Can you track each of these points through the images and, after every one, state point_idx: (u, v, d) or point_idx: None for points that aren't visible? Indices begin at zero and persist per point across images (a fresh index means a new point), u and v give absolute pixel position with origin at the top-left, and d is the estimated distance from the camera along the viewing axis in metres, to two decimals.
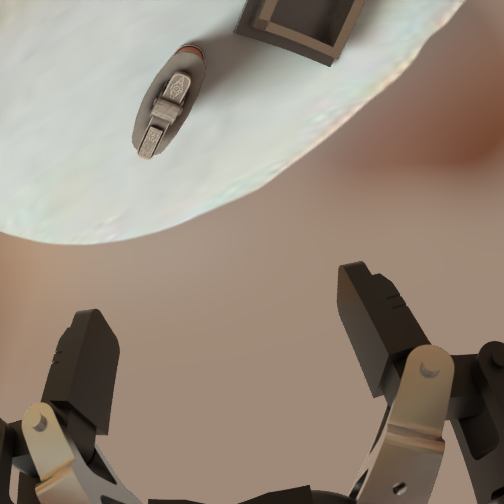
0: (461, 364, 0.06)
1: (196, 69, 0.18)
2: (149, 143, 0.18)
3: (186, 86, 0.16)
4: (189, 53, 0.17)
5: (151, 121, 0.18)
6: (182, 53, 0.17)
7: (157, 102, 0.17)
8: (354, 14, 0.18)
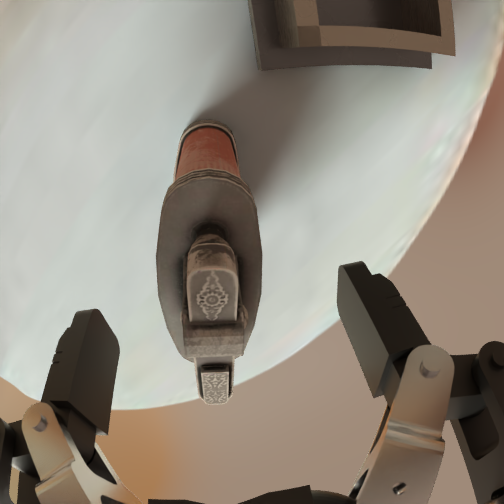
0: (461, 364, 0.06)
1: (232, 208, 0.09)
2: (214, 390, 0.09)
3: (232, 287, 0.07)
4: (197, 180, 0.08)
5: (197, 361, 0.09)
6: (181, 188, 0.08)
7: (187, 342, 0.08)
8: None
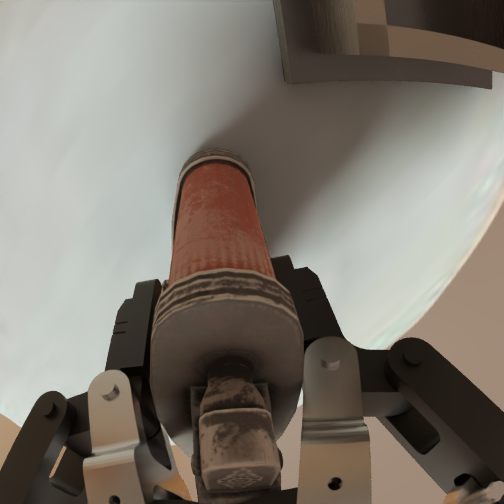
0: (374, 359, 0.07)
1: (266, 335, 0.05)
2: None
3: (271, 473, 0.04)
4: (207, 301, 0.05)
5: None
6: (181, 312, 0.05)
7: None
8: None
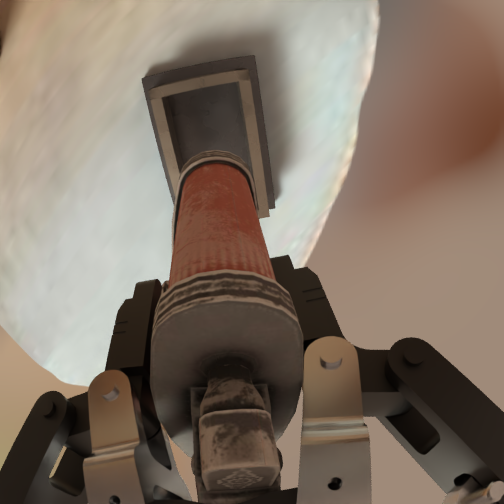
0: (374, 359, 0.07)
1: (266, 337, 0.05)
2: None
3: (270, 473, 0.04)
4: (207, 303, 0.05)
5: None
6: (181, 314, 0.05)
7: None
8: (258, 168, 0.24)
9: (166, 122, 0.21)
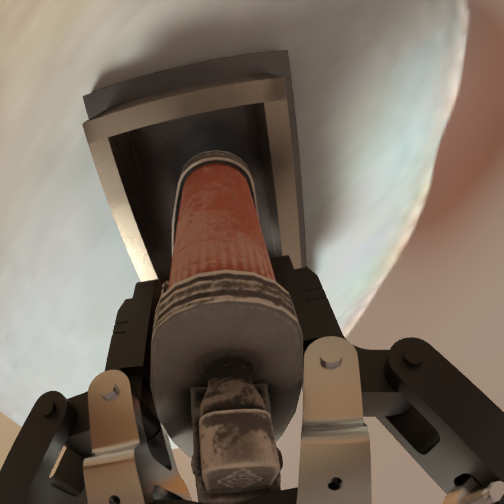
0: (374, 359, 0.07)
1: (265, 337, 0.05)
2: None
3: (270, 473, 0.04)
4: (207, 303, 0.05)
5: None
6: (181, 314, 0.05)
7: None
8: (293, 262, 0.14)
9: (122, 186, 0.11)
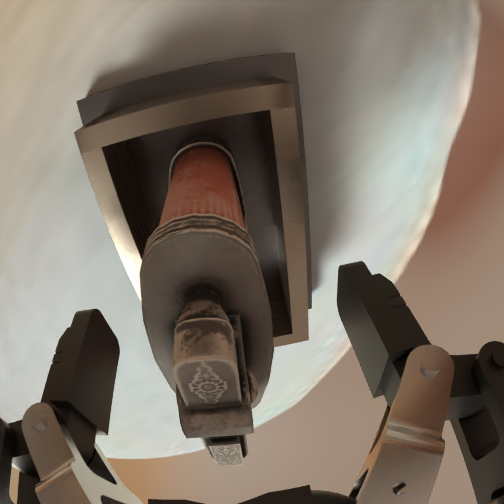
0: (461, 364, 0.06)
1: (227, 264, 0.07)
2: (226, 456, 0.08)
3: (230, 375, 0.05)
4: (177, 235, 0.06)
5: None
6: (159, 246, 0.06)
7: (185, 428, 0.06)
8: (299, 278, 0.13)
9: (117, 199, 0.10)
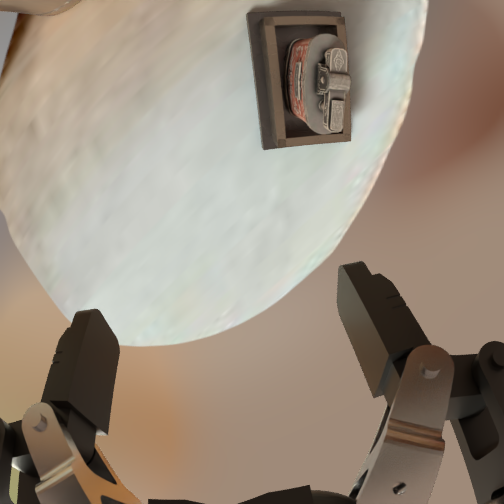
0: (461, 364, 0.06)
1: (336, 45, 0.19)
2: (336, 115, 0.20)
3: (345, 57, 0.17)
4: (324, 34, 0.18)
5: (330, 96, 0.19)
6: (318, 36, 0.18)
7: (330, 76, 0.18)
8: (346, 96, 0.25)
9: (276, 46, 0.22)
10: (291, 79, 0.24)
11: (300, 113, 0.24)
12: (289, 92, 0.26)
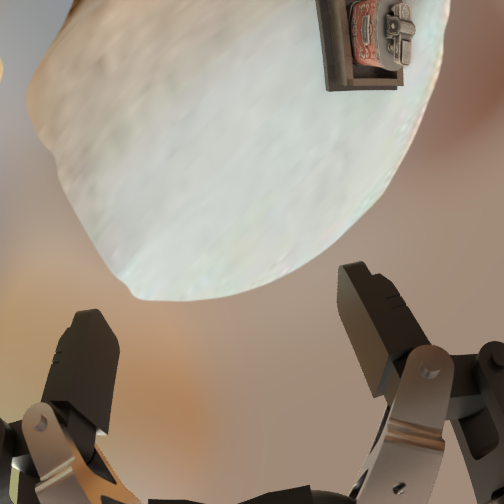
0: (461, 364, 0.06)
1: (398, 3, 0.19)
2: (406, 52, 0.20)
3: (409, 10, 0.18)
4: None
5: (400, 37, 0.20)
6: None
7: (401, 22, 0.19)
8: None
9: (344, 3, 0.23)
10: (356, 31, 0.25)
11: (367, 56, 0.25)
12: (353, 42, 0.27)
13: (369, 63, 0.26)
